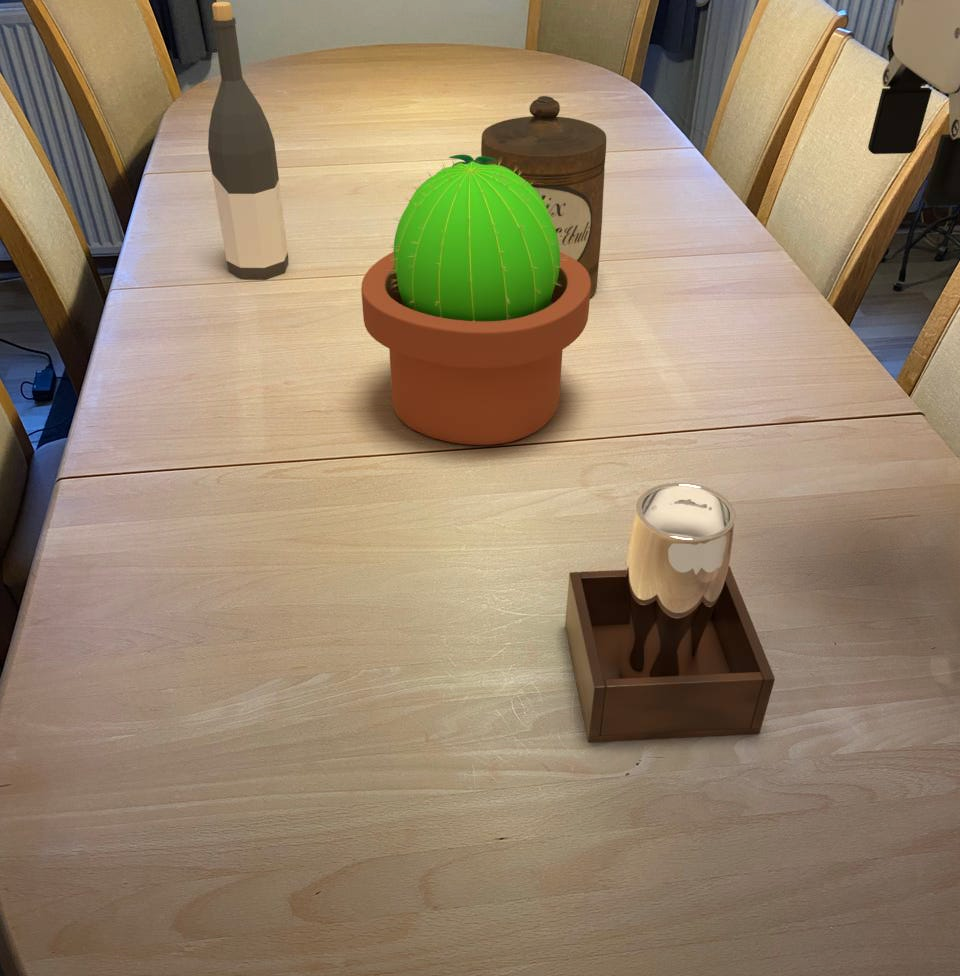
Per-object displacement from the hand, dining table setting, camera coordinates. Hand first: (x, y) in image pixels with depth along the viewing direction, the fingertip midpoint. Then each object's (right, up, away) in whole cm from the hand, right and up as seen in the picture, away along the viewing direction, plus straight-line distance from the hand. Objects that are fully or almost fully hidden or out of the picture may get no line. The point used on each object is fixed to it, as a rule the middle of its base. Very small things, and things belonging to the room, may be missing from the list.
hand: (917, 176), depth 67 cm
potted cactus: (-29, -6, +42) cm, 51 cm away
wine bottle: (-58, +18, +67) cm, 91 cm away
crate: (-15, -33, +11) cm, 38 cm away
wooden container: (-21, +15, +64) cm, 69 cm away
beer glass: (-15, -33, +11) cm, 38 cm away
